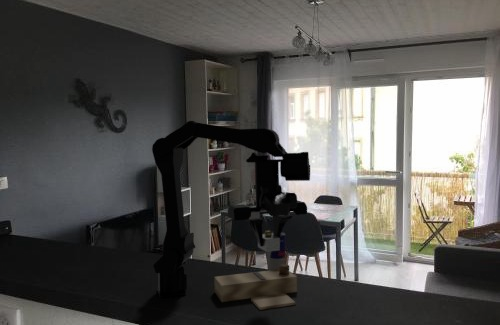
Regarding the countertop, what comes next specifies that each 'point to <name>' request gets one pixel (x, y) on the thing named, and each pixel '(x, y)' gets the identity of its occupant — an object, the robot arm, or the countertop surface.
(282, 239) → the energy drink
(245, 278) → the plane body
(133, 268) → the countertop surface
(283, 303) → the flat wooden board
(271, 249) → the grey piece
